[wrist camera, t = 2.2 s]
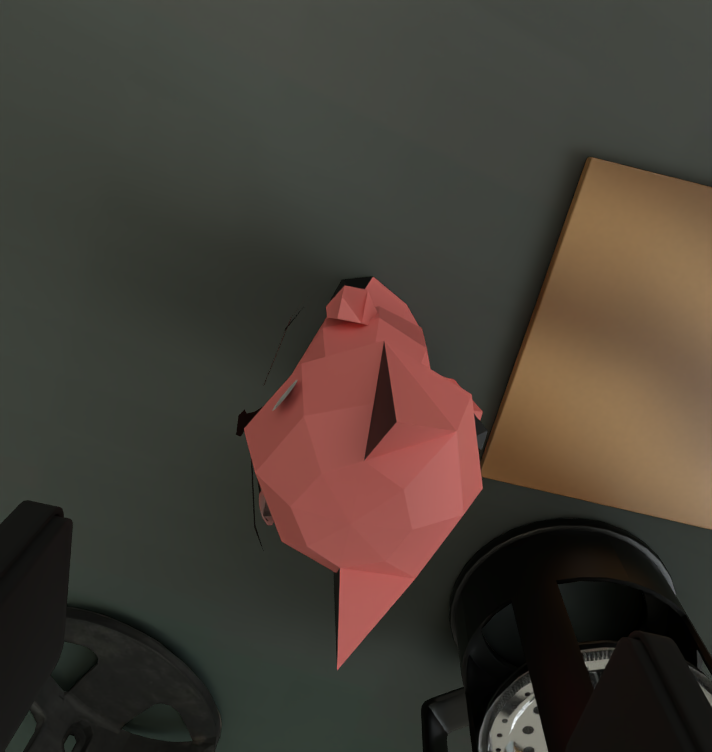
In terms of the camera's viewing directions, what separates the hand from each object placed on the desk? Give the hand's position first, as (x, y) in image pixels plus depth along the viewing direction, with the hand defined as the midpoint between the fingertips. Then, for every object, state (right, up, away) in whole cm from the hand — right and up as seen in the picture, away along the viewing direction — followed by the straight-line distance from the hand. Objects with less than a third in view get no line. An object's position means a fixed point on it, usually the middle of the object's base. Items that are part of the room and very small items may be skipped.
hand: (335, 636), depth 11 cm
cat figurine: (+1, +5, +13) cm, 14 cm away
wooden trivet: (+13, +4, +12) cm, 19 cm away
